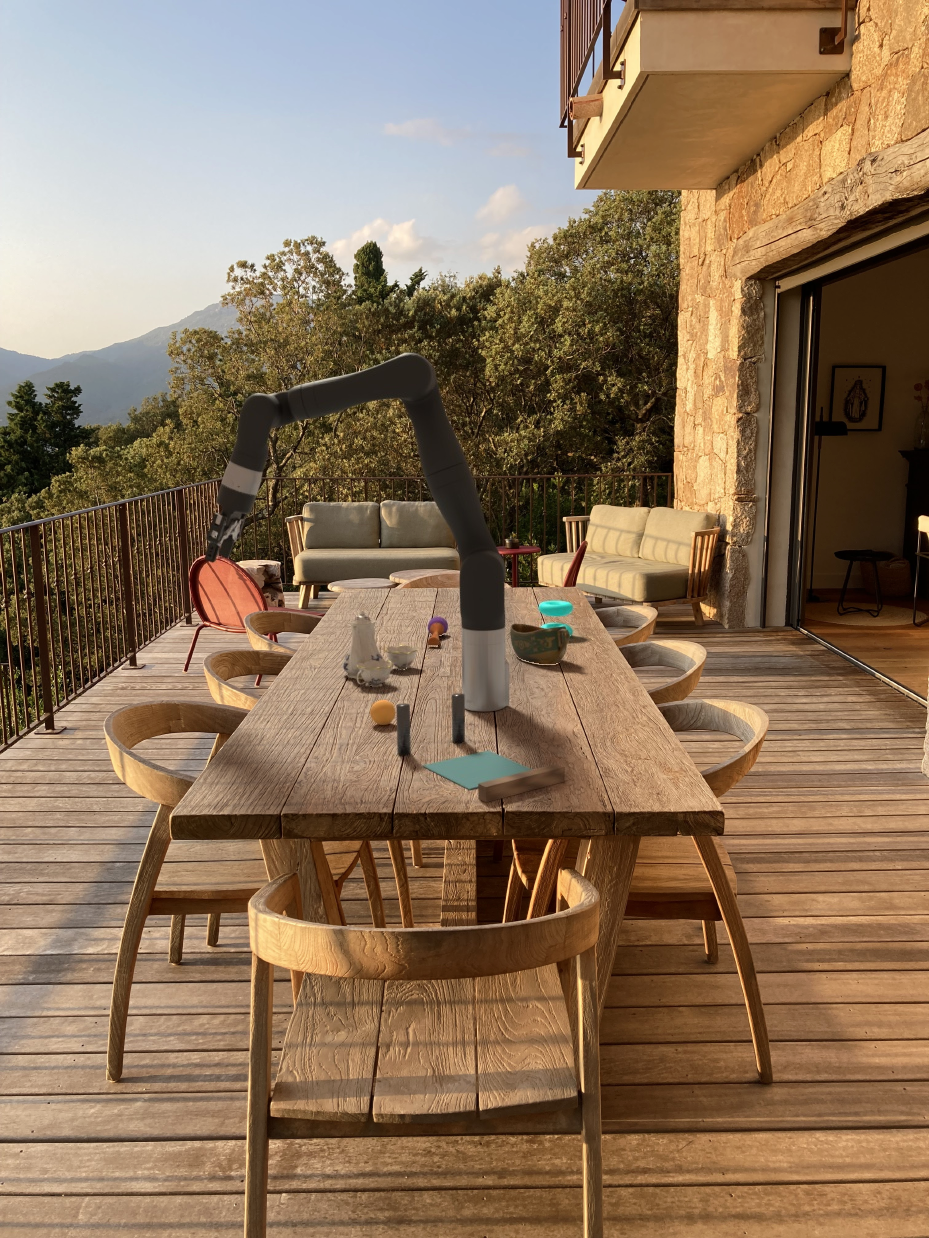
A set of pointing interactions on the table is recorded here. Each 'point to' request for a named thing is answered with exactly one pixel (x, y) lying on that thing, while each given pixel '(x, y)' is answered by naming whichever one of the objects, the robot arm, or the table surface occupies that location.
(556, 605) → the donuts
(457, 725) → the post
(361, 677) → the chinaware
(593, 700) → the table surface
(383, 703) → the ball
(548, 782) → the stopper
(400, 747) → the post
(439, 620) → the kendama
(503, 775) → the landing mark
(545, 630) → the cup
